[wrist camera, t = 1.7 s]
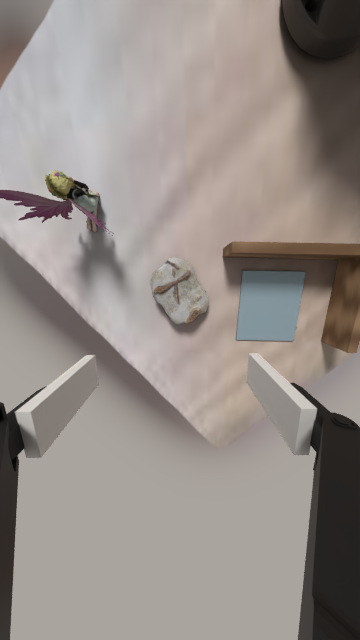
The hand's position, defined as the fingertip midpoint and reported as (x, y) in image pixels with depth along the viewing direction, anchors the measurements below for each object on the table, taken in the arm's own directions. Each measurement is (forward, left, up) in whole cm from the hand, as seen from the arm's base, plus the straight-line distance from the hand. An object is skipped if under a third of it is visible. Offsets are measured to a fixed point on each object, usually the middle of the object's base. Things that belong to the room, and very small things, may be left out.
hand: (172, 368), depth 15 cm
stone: (-1, -1, -22) cm, 22 cm away
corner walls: (-3, +18, -22) cm, 29 cm away
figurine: (-18, -16, -22) cm, 33 cm away
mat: (-2, +18, -22) cm, 29 cm away
